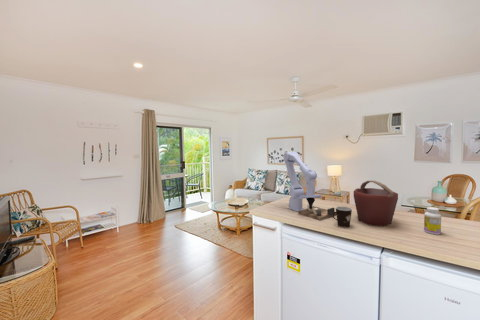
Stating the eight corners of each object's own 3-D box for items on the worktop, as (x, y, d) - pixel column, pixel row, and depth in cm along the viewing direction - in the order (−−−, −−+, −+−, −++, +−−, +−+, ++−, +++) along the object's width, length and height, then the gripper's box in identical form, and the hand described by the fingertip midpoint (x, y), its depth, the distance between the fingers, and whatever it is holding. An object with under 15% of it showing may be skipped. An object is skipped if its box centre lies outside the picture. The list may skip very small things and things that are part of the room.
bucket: (404, 230, 116) (405, 184, 115) (360, 228, 121) (360, 184, 119) (383, 215, 140) (384, 178, 139) (347, 214, 145) (347, 178, 143)
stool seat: (298, 213, 149) (298, 205, 149) (314, 209, 159) (314, 201, 159) (320, 220, 134) (320, 211, 134) (337, 215, 144) (337, 206, 144)
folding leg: (320, 214, 140) (320, 209, 140) (315, 214, 140) (315, 209, 139) (311, 209, 152) (311, 204, 152) (307, 209, 151) (307, 205, 151)
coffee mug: (348, 222, 130) (348, 206, 129) (354, 228, 121) (354, 210, 120) (328, 222, 131) (328, 206, 130) (333, 227, 122) (333, 210, 122)
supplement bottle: (423, 228, 117) (424, 205, 117) (440, 231, 113) (440, 207, 112) (424, 232, 112) (424, 208, 111) (441, 235, 108) (442, 211, 107)
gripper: (302, 190, 140) (302, 210, 141) (323, 189, 142) (323, 209, 142) (298, 188, 147) (298, 207, 148) (318, 187, 149) (318, 206, 149)
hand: (310, 208), depth 146 cm, fingers closed, pressing on folding leg
